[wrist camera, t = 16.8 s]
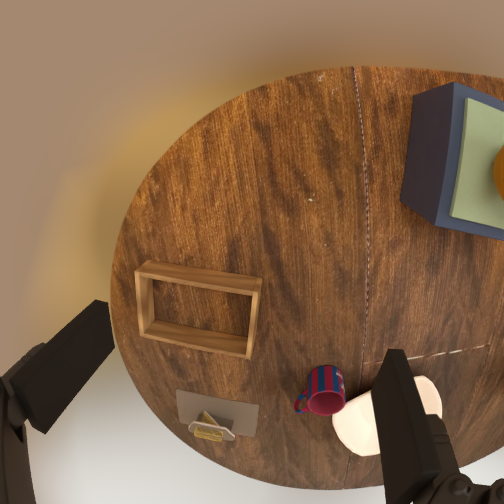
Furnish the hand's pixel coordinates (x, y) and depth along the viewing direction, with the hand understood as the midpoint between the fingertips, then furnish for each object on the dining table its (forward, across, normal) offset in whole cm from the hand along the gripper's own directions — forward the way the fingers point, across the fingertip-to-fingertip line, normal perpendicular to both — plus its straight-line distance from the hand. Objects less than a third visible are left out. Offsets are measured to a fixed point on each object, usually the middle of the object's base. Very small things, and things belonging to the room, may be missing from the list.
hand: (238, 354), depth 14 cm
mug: (+35, +11, -32) cm, 49 cm away
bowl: (+35, +27, -37) cm, 58 cm away
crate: (+35, +25, +11) cm, 44 cm away
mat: (+21, +25, +11) cm, 34 cm away
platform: (+35, -8, -47) cm, 59 cm away
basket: (+35, -12, -19) cm, 41 cm away
